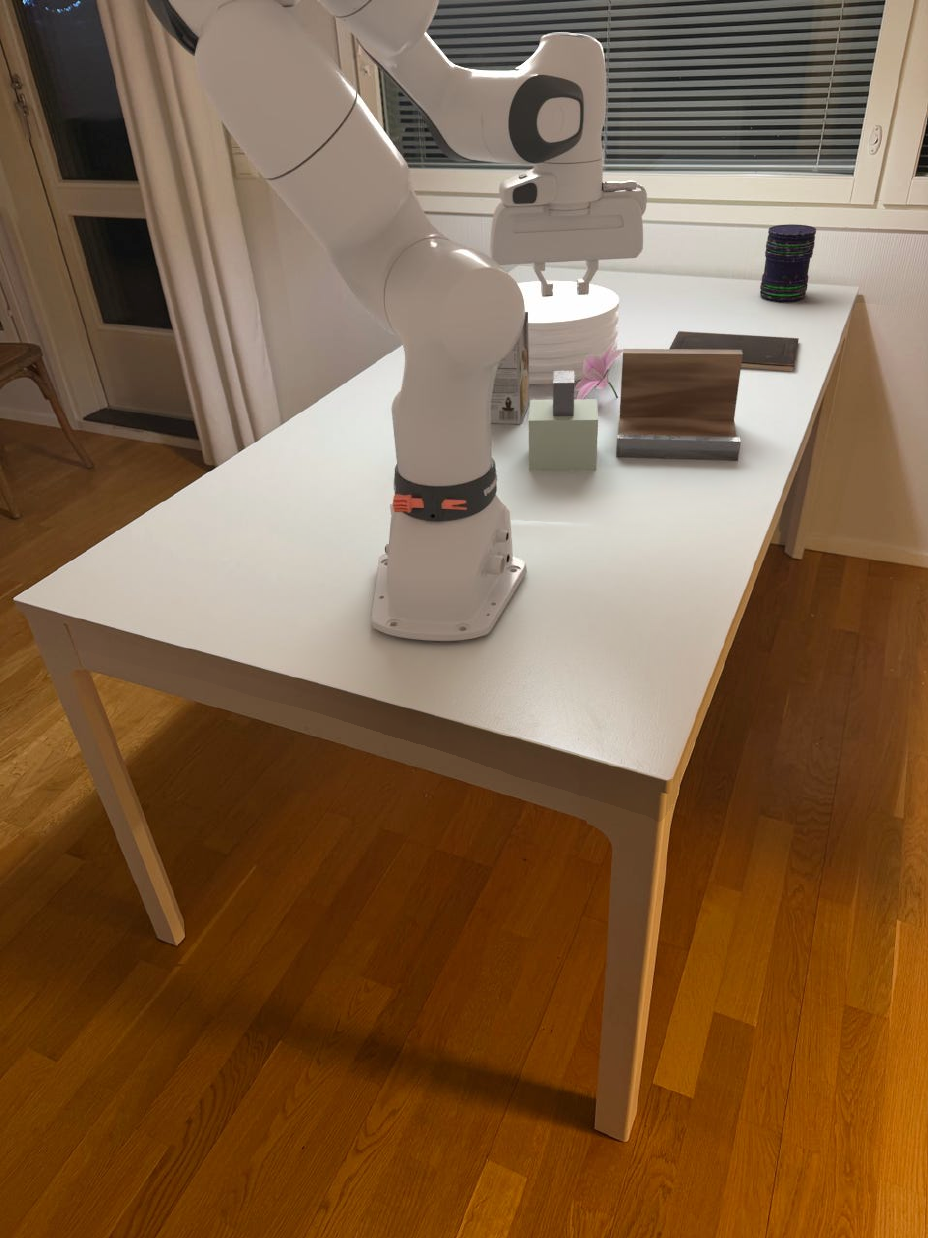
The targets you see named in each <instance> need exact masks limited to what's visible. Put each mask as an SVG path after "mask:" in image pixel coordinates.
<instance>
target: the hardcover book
mask: <svg viewBox="0 0 928 1238" xmlns="http://www.w3.org/2000/svg"><path fill="white" fill-rule="evenodd" d="M799 340H800V339H799V338H798V337H787V336H786V337H785V336H784V337H781V336H767V335H749V334H732V333H720V332H719V333H715V332H714V333H713V332H702V331H701V332H698V331H681V330H678V331H677V333H676V335H675V337H674V339H673V341H672V342H671V345H670V346H669V348H668V349H702V350H742V353H743V356H742V363H741V368H743V369H757V370H758V369H760V370H771V371H772V370H774V371H788V372H793V370H794V367H795V363H796V357H797V351H798V345H799Z"/></svg>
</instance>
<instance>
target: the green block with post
mask: <svg viewBox="0 0 928 1238" xmlns="http://www.w3.org/2000/svg"><path fill="white" fill-rule="evenodd" d="M552 386H553V387H552V399H529V412H528V413H529V415H528V470H529V472H530V471H597V464H598V463H597V461H598V460H597V459H598V458H597V457H598V437H599V436H598V434H599V433H598V431H599V428H598V427H599V413H598V411H599V410H598V399H597V398H583V399H577V398H576V399H575V392H574V388H575V381H574V371H554V376H553V384H552Z"/></svg>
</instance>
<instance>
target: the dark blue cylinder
mask: <svg viewBox="0 0 928 1238" xmlns="http://www.w3.org/2000/svg"><path fill="white" fill-rule="evenodd" d="M767 233H768V236H767V241H766V243H765V244H766V245H765V252H764V257H765V260H764V261H765V263H764V269H763V274H762V275H761V282H760V287H759V291H760V292H759V295H760V298H761V299H763V300H764V301H768V302H771V303H772V302H773V303H780V304H781V303H786V304H787V303H795V302H800V301H803V300H804V298H805V296H806V294H807V290H808V286H809V285H808V282H809V269H810V263H811V258H812V257H813V252H814V249H815V240H816V233H817V228H816V227H814V226H811V225H806V224H790V223H789V224H778V225H773V226H770V227H769V228H768V232H767Z"/></svg>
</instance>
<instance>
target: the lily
mask: <svg viewBox="0 0 928 1238" xmlns="http://www.w3.org/2000/svg"><path fill="white" fill-rule="evenodd" d="M613 345H614V341H613V342H612V343H611V344H610V345H609V346H608V347H607V349H606V350H605V351H604V353H603V354H602V356H601V357H600V356H598V355H595V354H589V355H587V356H586V357H585V359H584V362H583V373H584V375H585V377H584V378H583V379H581V380H580V381H579V382H578V383H577V384H576V385H575V386H574V393H575V392H577V391H578V393H577V395H576V399H585V397H586V395H587V394H589V392H590V391H591V390H592V389H593V388H594V389H598V390H606V389H607V386H608V385H609V386H610V388H611V389H612V392H613V394H614V396H615V397H616V398H617V399H618V398H619V397H618V394H617V392H616V390H615V388H614V386H613V385H612V384H611V382H610V381H609V370H610V368H611V367H610V365H611V364H612V363H613V362H614V361H615V360H616V361H617V359H618V358H619V357H620V356H621V354H623V349H616V351H613V352H611V351H612V348H613ZM616 361H615V362H616ZM609 367H610V368H609Z"/></svg>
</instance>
